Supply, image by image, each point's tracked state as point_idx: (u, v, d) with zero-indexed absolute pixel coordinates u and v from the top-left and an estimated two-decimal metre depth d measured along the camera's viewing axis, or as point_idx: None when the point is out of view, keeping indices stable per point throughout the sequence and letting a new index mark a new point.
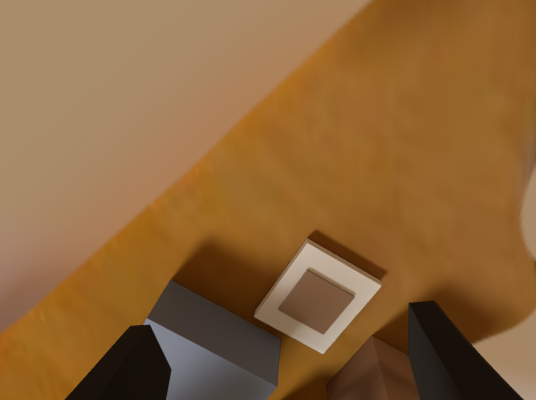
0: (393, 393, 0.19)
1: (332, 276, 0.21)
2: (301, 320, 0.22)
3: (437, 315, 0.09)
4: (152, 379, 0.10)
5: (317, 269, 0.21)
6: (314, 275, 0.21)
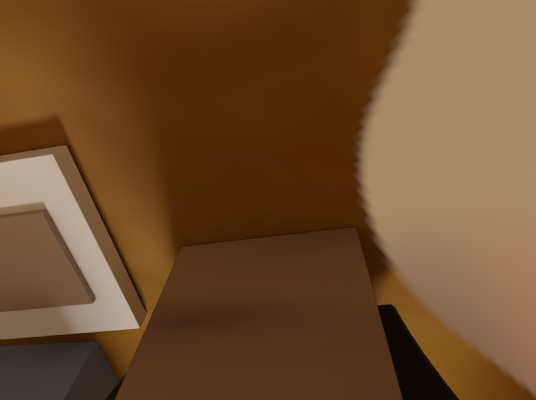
0: (148, 373, 0.07)
1: None
2: (41, 304, 0.11)
3: (392, 318, 0.09)
4: None
5: None
6: None
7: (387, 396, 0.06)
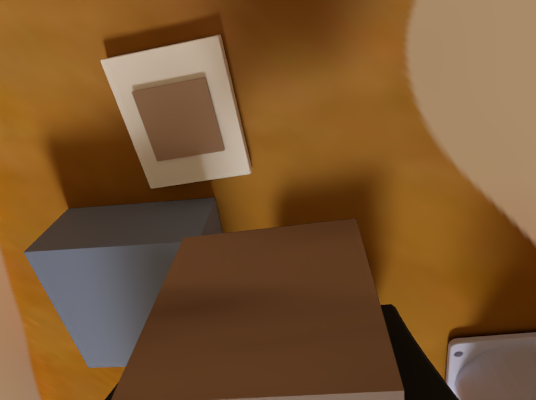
0: (151, 358, 0.07)
1: (162, 75, 0.15)
2: (188, 153, 0.16)
3: (392, 318, 0.09)
4: None
5: (141, 81, 0.15)
6: (143, 90, 0.15)
7: (386, 378, 0.06)
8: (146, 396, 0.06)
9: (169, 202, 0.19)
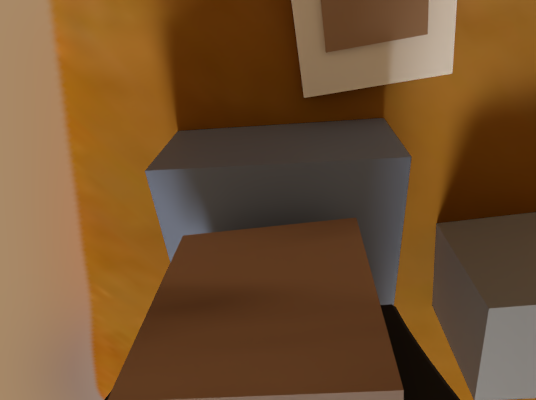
0: (150, 355, 0.07)
1: None
2: (373, 39, 0.12)
3: (392, 318, 0.09)
4: None
5: None
6: None
7: (386, 377, 0.06)
8: (144, 393, 0.06)
9: (320, 123, 0.14)
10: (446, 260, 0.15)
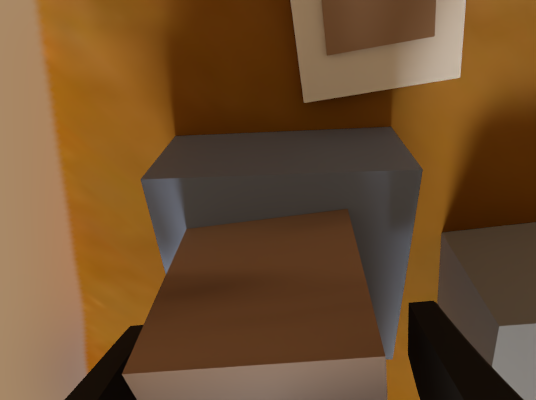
0: (159, 334, 0.08)
1: None
2: (377, 41, 0.11)
3: (437, 315, 0.09)
4: None
5: None
6: None
7: (370, 346, 0.07)
8: (155, 366, 0.07)
9: (325, 130, 0.13)
10: (452, 271, 0.15)
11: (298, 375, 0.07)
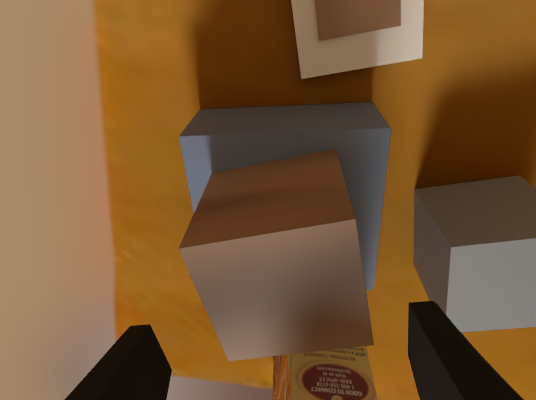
0: (201, 227, 0.11)
1: None
2: (357, 29, 0.14)
3: (437, 315, 0.09)
4: (152, 379, 0.10)
5: None
6: None
7: (346, 216, 0.10)
8: (201, 242, 0.10)
9: (319, 105, 0.17)
10: (422, 219, 0.18)
11: (298, 239, 0.10)
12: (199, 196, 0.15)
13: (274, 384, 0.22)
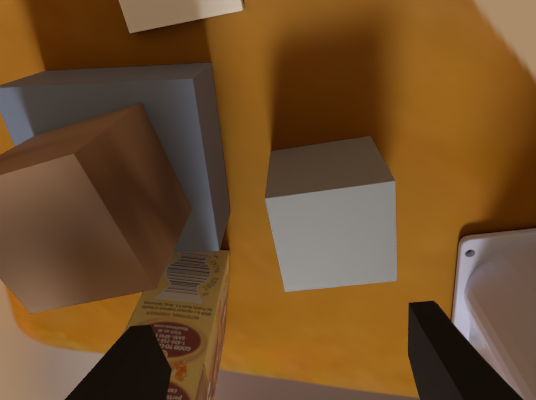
0: None
1: None
2: None
3: (437, 315, 0.09)
4: (152, 379, 0.10)
5: None
6: None
7: (72, 152, 0.10)
8: None
9: (160, 65, 0.17)
10: None
11: (32, 179, 0.10)
12: None
13: None
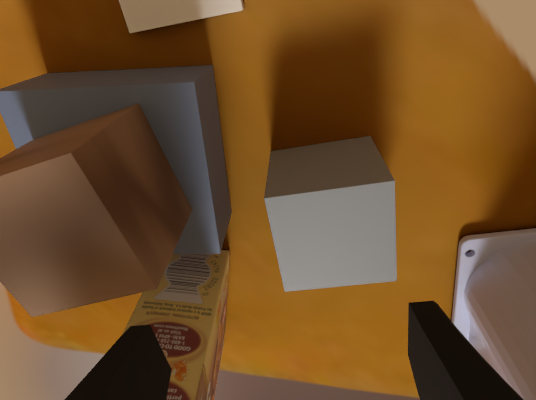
0: None
1: None
2: None
3: (437, 315, 0.09)
4: (152, 379, 0.10)
5: None
6: None
7: (69, 152, 0.10)
8: None
9: (161, 68, 0.17)
10: None
11: (29, 180, 0.10)
12: None
13: None
